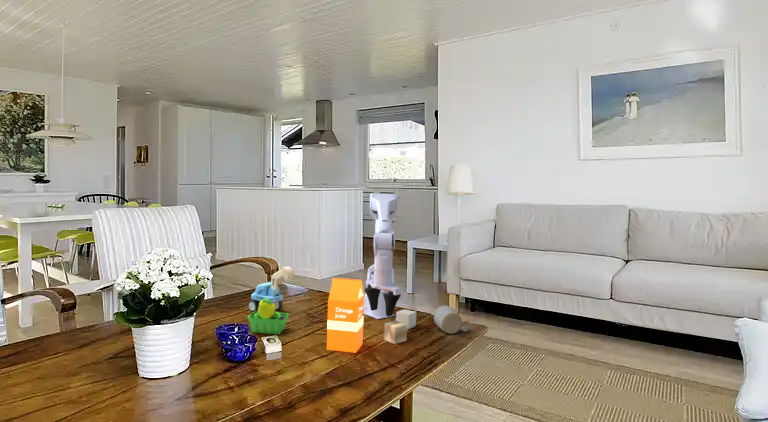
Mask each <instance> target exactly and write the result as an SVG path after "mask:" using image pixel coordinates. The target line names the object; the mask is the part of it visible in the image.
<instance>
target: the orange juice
mask: <svg viewBox="0 0 768 422" xmlns="http://www.w3.org/2000/svg"><path fill="white" fill-rule="evenodd" d="M329 291H330V292H329V294H328V295H329V296H328V299H327V321H326V323H327V325H326V329H327V330H326V350H327V351H338V352H345V353H346V352H347V353H354V354H356V353H357V352H358V351H359V350H360V348H361V347H362V345H363V340H364V338H363V337H364V319H365V318H364V317H365V316H364V315H365V314H364V296H365V294H364V292H365V291H364V288H363V281H362V279H353V278H340V277H332V281H331V285H330V290H329Z"/></svg>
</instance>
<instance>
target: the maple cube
mask: <svg viewBox="0 0 768 422" xmlns="http://www.w3.org/2000/svg"><path fill="white" fill-rule="evenodd" d="M407 335H408V330H407V324H404V323H401V322H398V321H396V320H393V321H389V322H384V323H383V340H384V341H387V342H389V343H391V344H393V345H394V344H399V343H403V342H407V340H408V339H407V338H408V337H407Z"/></svg>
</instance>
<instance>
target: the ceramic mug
mask: <svg viewBox="0 0 768 422" xmlns="http://www.w3.org/2000/svg"><path fill="white" fill-rule="evenodd" d="M433 320H434V324H435V325H436V326H437V327H438V328H440V329H441V330H442V331H443V332H444V333H446V334H449V335H453V334H456V333H458V332H459V331H463V332H466V333H467V332H468V330H469V326H467V324H465V323H464V322H463V320H462V317H461V316H460V314H459V313H457V311H456V310H455V309H454V308H453V307H451V306H450V305H446V304H445V305H440V306H438V307H437V309H436V310H435V312H434V314H433Z"/></svg>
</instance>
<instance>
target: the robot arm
mask: <svg viewBox="0 0 768 422" xmlns="http://www.w3.org/2000/svg"><path fill="white" fill-rule="evenodd" d="M397 209H398V195H397V194H396V193H394V194H393V193H374V192H371V193H370V194H369V214H370V217H371V218H373V219H374V220H375V223H374V225H375V226H374V234H373V254H374V255H373V257H374V261H373V262H374V263H373V264H371V266H369V267H368V268H367V278H366V280H365V287H366V288H364V292H365V294H364V315H366V316H369V317H372V318H374V319H376V320H380V319H385V318H391V317H396V314H394V311H395V308H396V305H397V302H398V301H399V299H400V298H401V288H400V287H397V286H396V285H395V283H396V282H395V279H396V278H395V270H394V268H393V257H394V255H393V254H394V251H395V248H396V247H395V246H396V245H395V244H396V237H395V236H396V235H395V232H394V229H393V228H394V227H393V226H394V225H393V221H392V219H393V218H395V217H396V214H397Z"/></svg>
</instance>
